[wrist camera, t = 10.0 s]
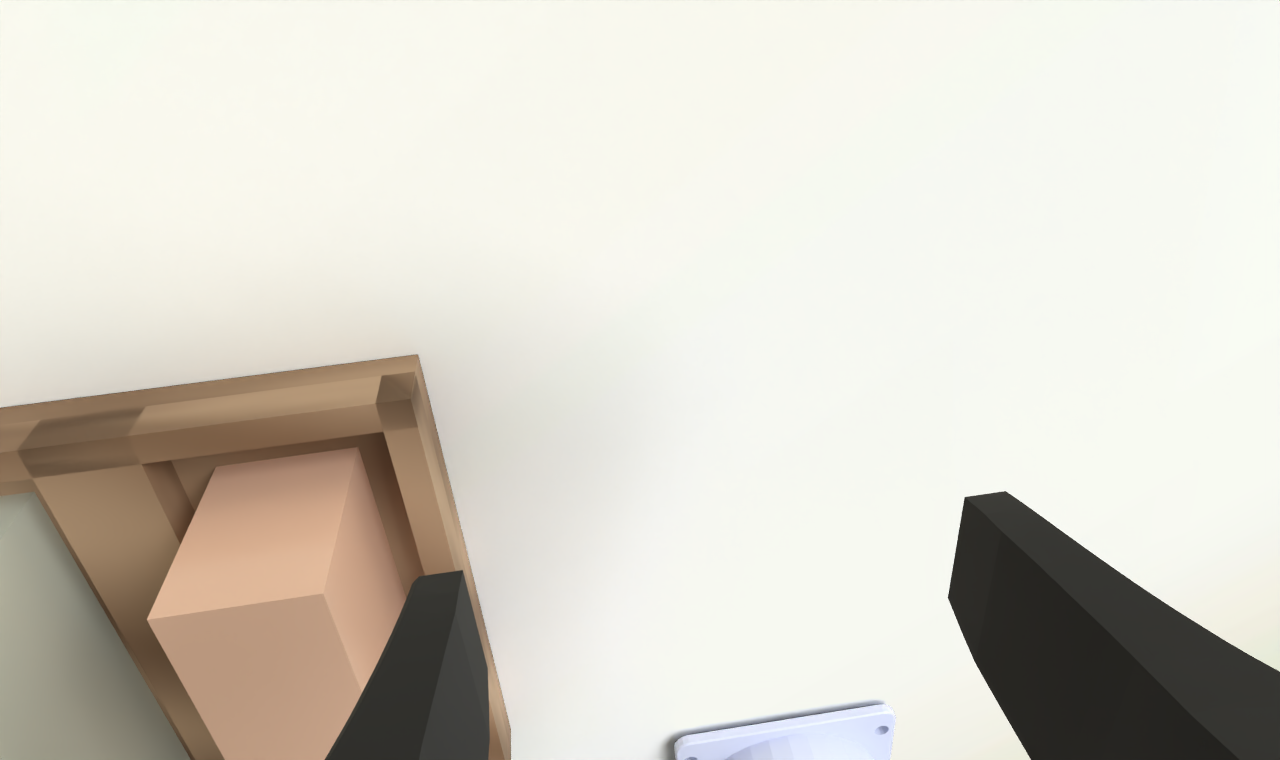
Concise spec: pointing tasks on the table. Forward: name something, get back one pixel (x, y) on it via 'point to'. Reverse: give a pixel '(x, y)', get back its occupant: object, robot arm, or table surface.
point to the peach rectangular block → (280, 603)
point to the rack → (183, 465)
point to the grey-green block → (65, 657)
